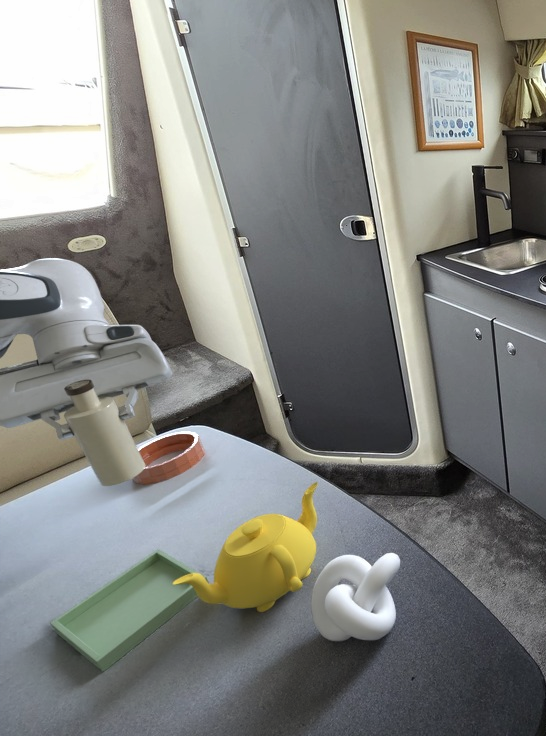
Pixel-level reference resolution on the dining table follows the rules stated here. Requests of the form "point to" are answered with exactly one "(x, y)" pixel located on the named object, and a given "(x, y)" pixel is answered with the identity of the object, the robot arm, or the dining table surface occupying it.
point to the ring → (174, 465)
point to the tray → (126, 609)
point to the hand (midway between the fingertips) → (98, 426)
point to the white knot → (355, 598)
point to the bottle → (102, 435)
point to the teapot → (261, 560)
